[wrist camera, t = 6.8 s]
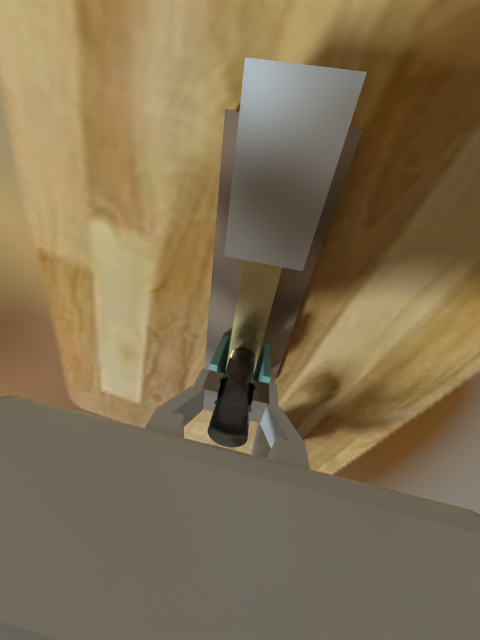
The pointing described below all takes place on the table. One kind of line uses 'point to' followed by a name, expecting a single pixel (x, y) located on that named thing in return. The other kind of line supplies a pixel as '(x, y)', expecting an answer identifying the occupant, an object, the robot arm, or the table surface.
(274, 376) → the slider track base
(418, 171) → the table surface
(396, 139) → the table surface
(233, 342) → the handled slide bar
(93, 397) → the table surface
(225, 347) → the teal socket
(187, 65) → the table surface
